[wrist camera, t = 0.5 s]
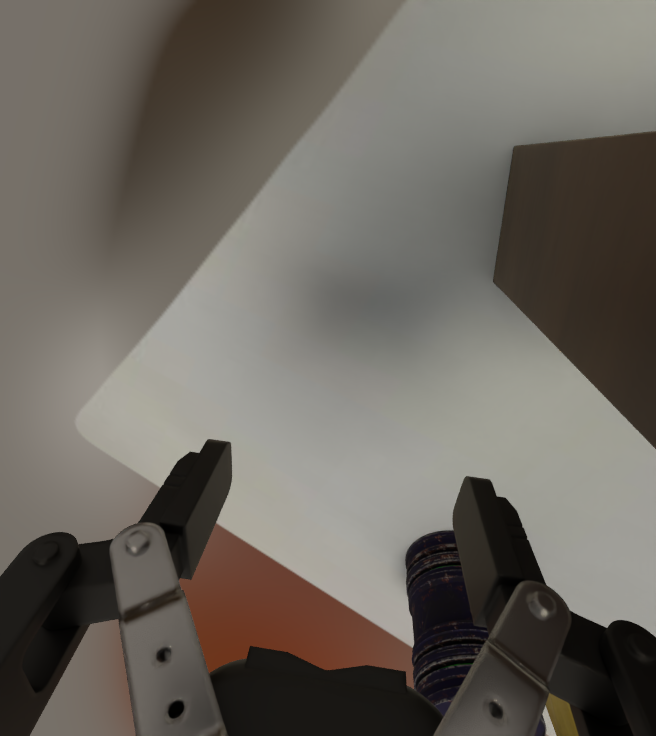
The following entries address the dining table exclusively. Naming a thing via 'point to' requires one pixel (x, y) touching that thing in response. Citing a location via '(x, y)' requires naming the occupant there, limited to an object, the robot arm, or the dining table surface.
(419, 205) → the dining table surface
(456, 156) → the dining table surface
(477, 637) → the storage jar
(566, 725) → the vase
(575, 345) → the dark brown tall slab
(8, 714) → the robot arm
